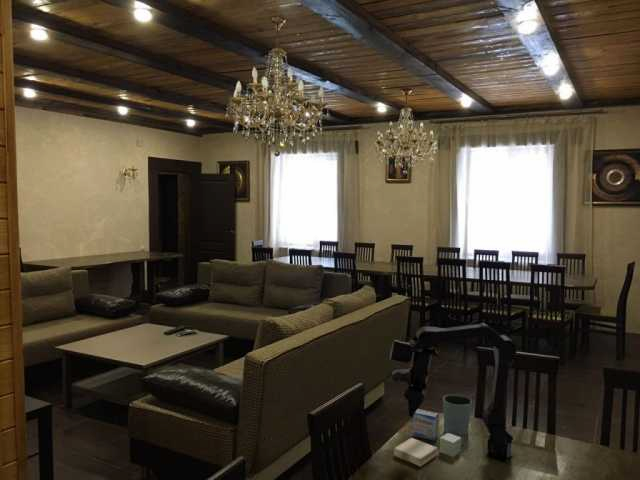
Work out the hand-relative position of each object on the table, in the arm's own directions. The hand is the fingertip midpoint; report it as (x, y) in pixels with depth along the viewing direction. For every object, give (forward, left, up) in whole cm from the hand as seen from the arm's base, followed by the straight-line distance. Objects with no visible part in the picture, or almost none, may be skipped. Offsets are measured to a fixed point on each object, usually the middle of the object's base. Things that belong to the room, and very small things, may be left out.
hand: (411, 410), depth 176 cm
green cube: (-10, -9, -14) cm, 19 cm away
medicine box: (+2, -13, -14) cm, 20 cm away
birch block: (-3, +1, -15) cm, 15 cm away
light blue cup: (-4, -24, -14) cm, 28 cm away
